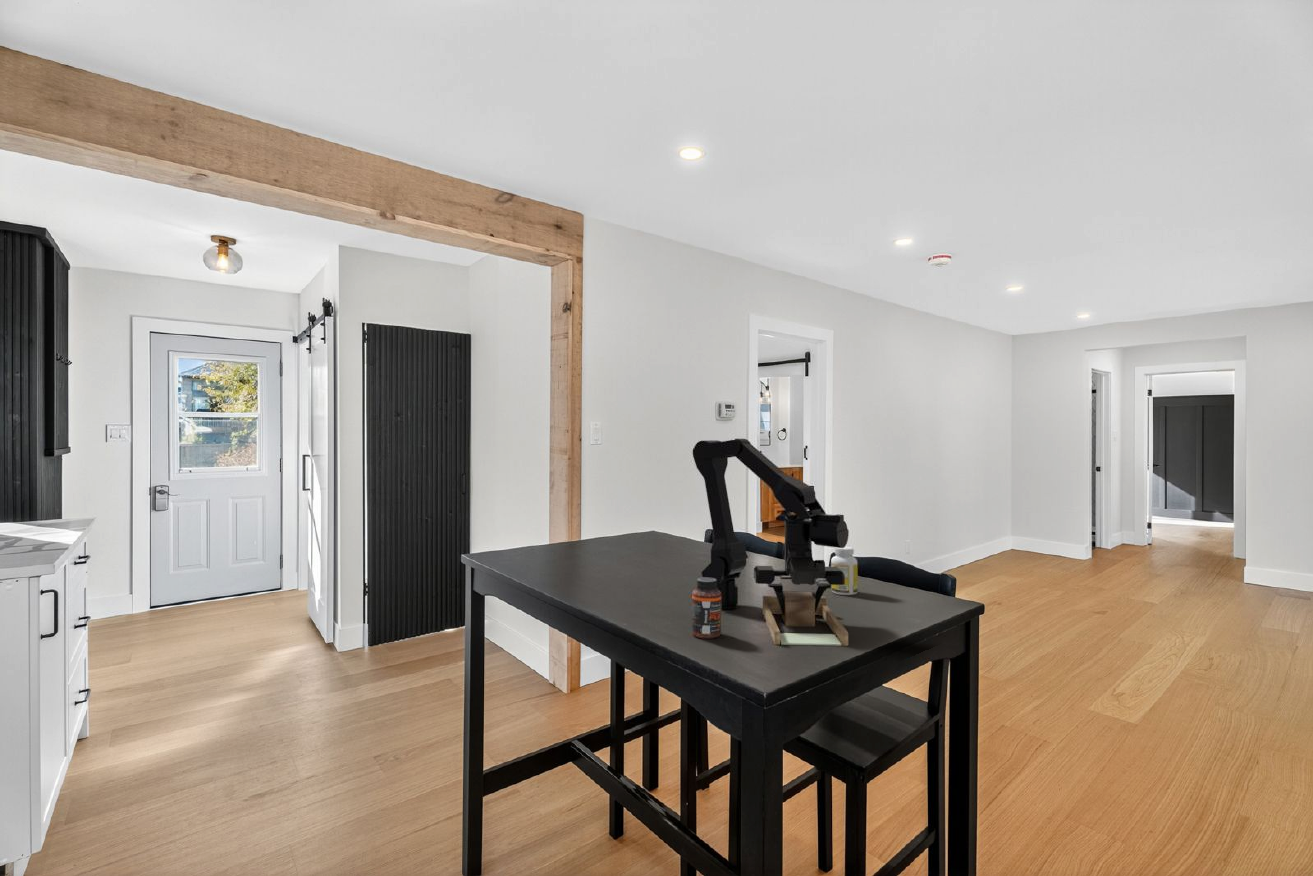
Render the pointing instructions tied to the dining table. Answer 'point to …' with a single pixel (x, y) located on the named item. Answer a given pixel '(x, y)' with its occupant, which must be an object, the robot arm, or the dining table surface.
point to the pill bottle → (846, 571)
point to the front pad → (808, 639)
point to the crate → (799, 608)
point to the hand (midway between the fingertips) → (798, 614)
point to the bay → (822, 610)
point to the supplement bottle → (706, 609)
